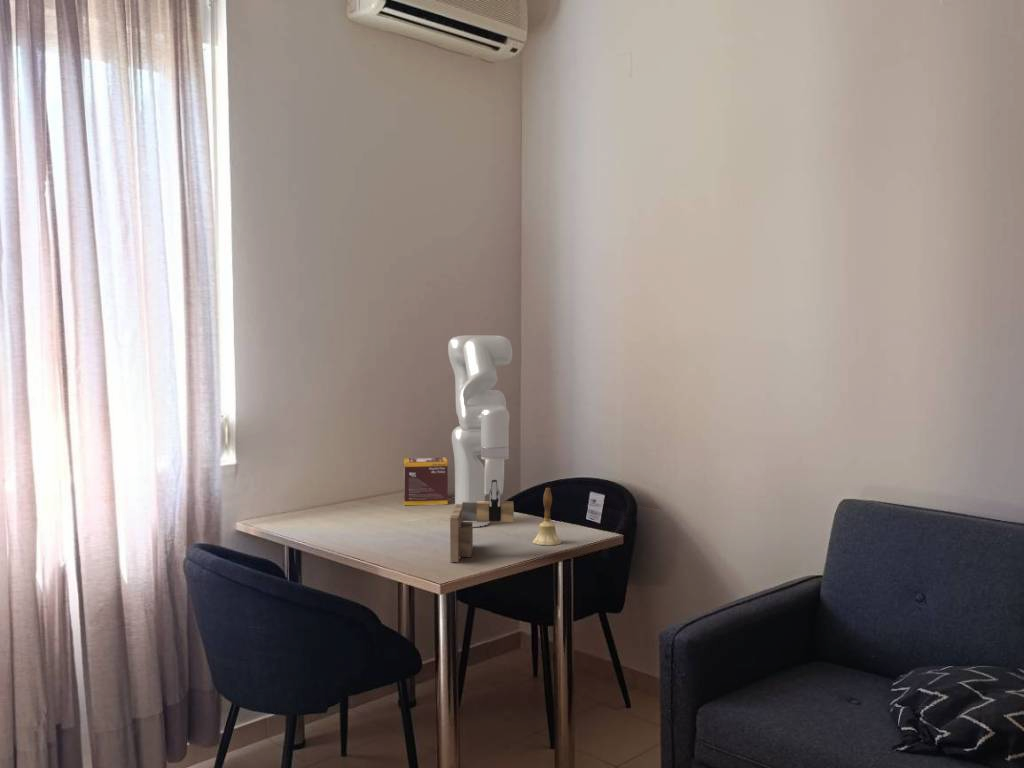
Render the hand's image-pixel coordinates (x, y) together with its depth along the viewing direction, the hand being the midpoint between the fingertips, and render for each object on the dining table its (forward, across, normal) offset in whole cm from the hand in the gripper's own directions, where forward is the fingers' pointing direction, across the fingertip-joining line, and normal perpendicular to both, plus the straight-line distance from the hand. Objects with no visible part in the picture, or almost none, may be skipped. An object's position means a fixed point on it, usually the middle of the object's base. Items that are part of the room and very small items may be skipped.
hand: (495, 518), depth 258 cm
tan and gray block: (0, 0, -2) cm, 2 cm away
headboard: (+10, 0, -8) cm, 13 cm away
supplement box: (+10, -77, -28) cm, 82 cm away
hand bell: (+10, -14, +14) cm, 23 cm away
